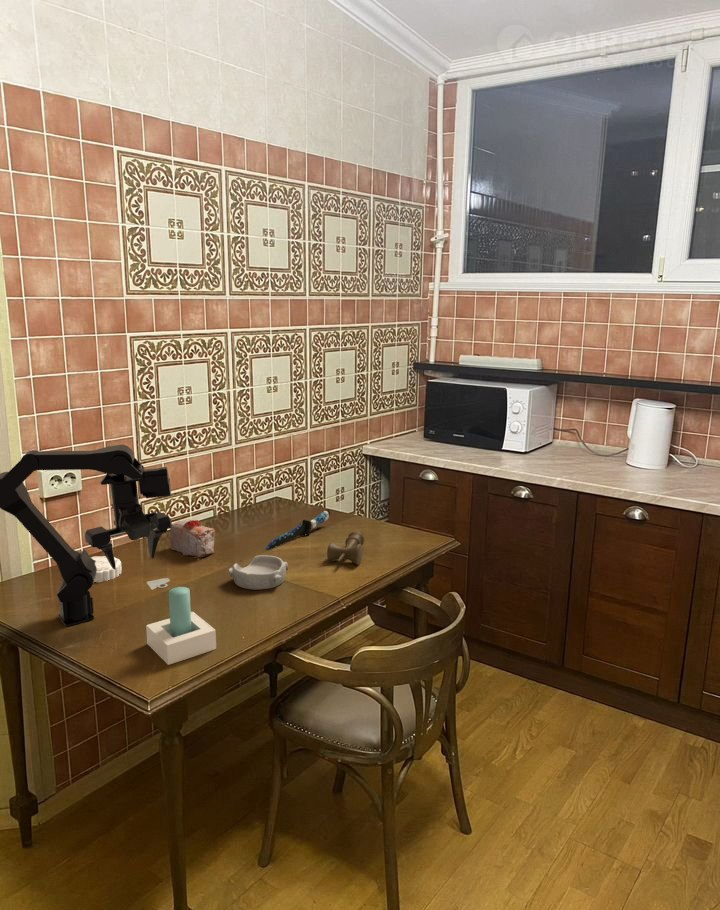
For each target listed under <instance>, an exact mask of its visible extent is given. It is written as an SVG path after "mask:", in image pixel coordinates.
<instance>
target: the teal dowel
mask: <svg viewBox="0 0 720 910" xmlns="http://www.w3.org/2000/svg"><path fill="white" fill-rule="evenodd" d="M190 592H191V591H190V588H189V587H186V586H175V587H173V588H171V589H170V590H168V608H169V618H170V633H171V636H172V637H173V638H174V637H177V636H180V635H183V634H187V633H190V632H191V612H192V610H191V593H190Z"/></svg>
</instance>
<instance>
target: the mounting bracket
mask: <svg viewBox="0 0 720 910" xmlns="http://www.w3.org/2000/svg"><path fill="white" fill-rule="evenodd" d="M170 581H171V580H170V578H168V577H163V578H158V579H154V580H149V581H146V584H147V586H148V587H149V588H150V589H151V590H152V591H153V590H155V589H166V588H168V584H167V583H169V582H170Z"/></svg>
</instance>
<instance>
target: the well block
mask: <svg viewBox="0 0 720 910" xmlns="http://www.w3.org/2000/svg"><path fill="white" fill-rule="evenodd" d="M216 632H217V631H216V629H215V628H214V627H212V626H211V625H210V624H209V623H208V622H207V621H205V619H203V618H202V617H200V616H199V615H198V614H197V613H195V612H194V611H191V632H190V633H187V634H183V635H180V636H177V637H174V638H173V637H172V636H171V633H170V617H169V618H167V619H163V620H159V621H155V622H152V623H148V624H147V625H146V644H147V645H148V646H149V648H151V649H152V650H153V652H155V653H156V654H157V655H158V656H159V658H160V659H162V661H164V662H165V664H166V665H168V666H169V665H172V664H176V663H178V662H181V661H184V660H187V659H191V658H193V657H196V656H200V655H203V654H205V653H209V652H213V651H214V650H216V649H217V633H216Z"/></svg>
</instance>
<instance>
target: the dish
mask: <svg viewBox="0 0 720 910" xmlns="http://www.w3.org/2000/svg"><path fill="white" fill-rule="evenodd" d="M288 570H289V565H288V562H287V561H283V560H282V558H280V557H278V556H275V555H266V554H264V555H263V554H262V555H255V556H254V557H253V558H252V559H251V562H250V563H249V564H248V565H247V566H245V567H242V566H240V565H239V564H238V563H237V562H236V563H234V564H233V566H232V567H230V568H229V569H228V576H229V577H230V578H233V581H234V584H235V585H237V586H238V587H239V588H243V589H247V590H267V589H273V588H276V587H279V586H280V585H281V584H282V583H283V582H284V581H285V579H286V574H287V572H286V571H288Z"/></svg>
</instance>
